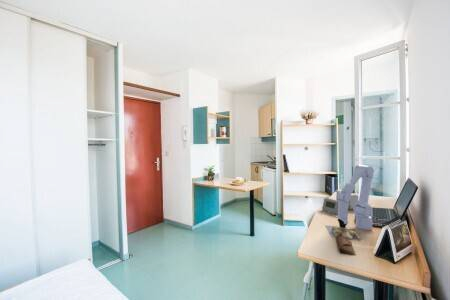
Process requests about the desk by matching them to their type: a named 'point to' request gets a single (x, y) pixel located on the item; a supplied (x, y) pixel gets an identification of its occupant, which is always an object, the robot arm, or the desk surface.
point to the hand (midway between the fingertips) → (342, 230)
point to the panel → (345, 232)
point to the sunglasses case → (345, 246)
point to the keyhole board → (341, 231)
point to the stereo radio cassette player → (352, 200)
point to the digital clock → (330, 206)
